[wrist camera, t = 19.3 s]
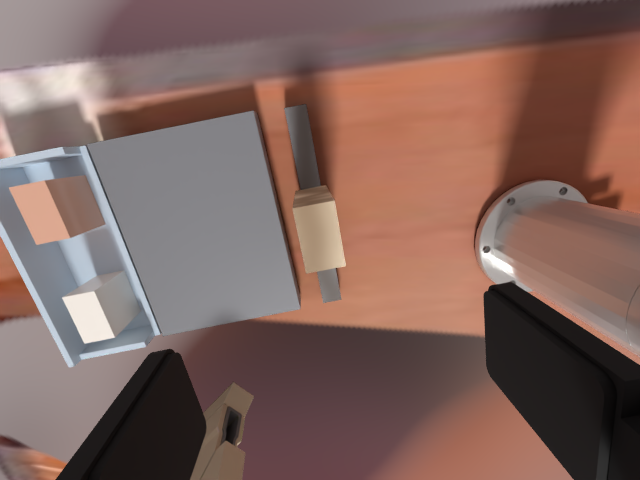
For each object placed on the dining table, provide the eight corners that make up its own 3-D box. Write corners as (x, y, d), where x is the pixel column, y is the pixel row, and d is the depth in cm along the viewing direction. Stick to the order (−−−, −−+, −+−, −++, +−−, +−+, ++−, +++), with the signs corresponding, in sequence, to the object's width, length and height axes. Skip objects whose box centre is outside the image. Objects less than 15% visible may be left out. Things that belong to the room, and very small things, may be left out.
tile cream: (94, 291, 28) (62, 297, 28) (115, 337, 30) (84, 343, 30) (124, 270, 33) (96, 275, 33) (141, 311, 35) (114, 316, 35)
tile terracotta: (44, 180, 25) (8, 187, 25) (70, 238, 27) (36, 244, 27) (85, 174, 30) (55, 181, 30) (105, 224, 32) (76, 230, 32)
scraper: (311, 105, 30) (314, 83, 20) (343, 290, 36) (360, 350, 25) (280, 111, 30) (267, 92, 20) (318, 295, 36) (323, 357, 25)
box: (99, 145, 30) (60, 145, 25) (168, 324, 36) (147, 351, 31) (17, 161, 30) (-37, 164, 25) (100, 337, 36) (68, 367, 31)
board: (257, 113, 30) (253, 110, 27) (300, 298, 36) (300, 309, 33) (104, 144, 30) (86, 144, 27) (172, 323, 36) (163, 336, 33)
